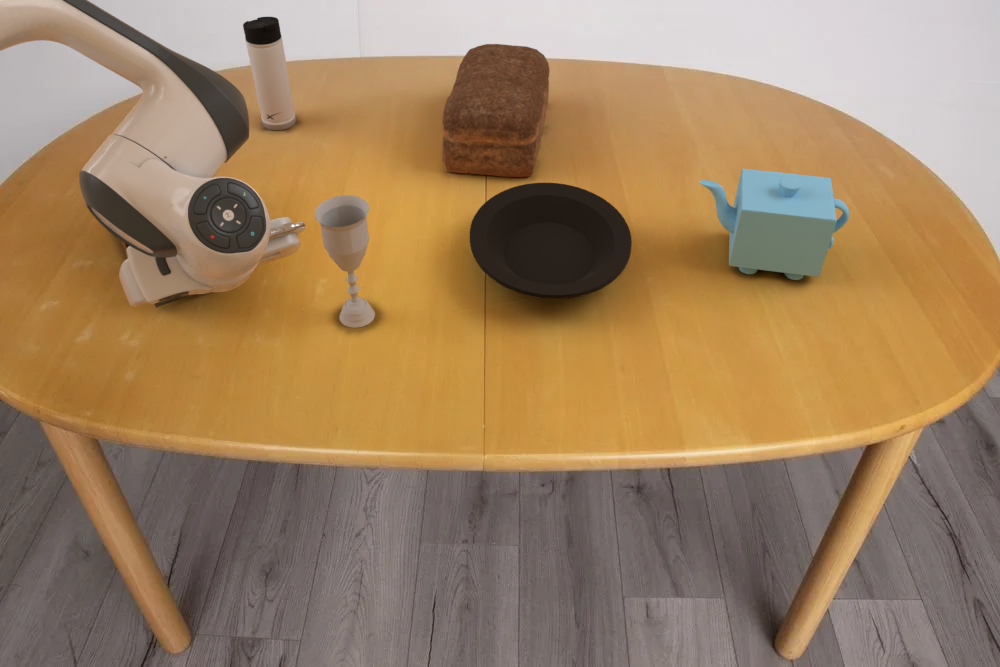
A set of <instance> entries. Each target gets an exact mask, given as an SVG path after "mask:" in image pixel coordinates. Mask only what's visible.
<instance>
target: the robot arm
mask: <svg viewBox="0 0 1000 667" xmlns="http://www.w3.org/2000/svg"><path fill="white" fill-rule="evenodd" d="M35 41H36V42H37V41H39V42H40V41H45V42H53V43H57V44H60V45H64V46H67V47H68V48H70V49H72V50H74V51H76V52H77V53H79V54H81V55H82V56H85V57H86V58H88V59H90V60H91V61H93V62H95V63H96V64H98V65H101V66H102V67H104V68H106V69H107V70H109V71H111V72H113V73H114V74H116V75H118V76H119V77H121V78H124V80H127V81H128V82H130V83H132V84H134V85H135V86H137V87H139V88H140V89H141V91H142V95H141V96H140V99H139V100H138V101H137V103H136V104H135V105H134V106H133V108H132V109H131V110H130V111H129V112H128V113H127V115H126V116H125V117H124V118H123V119H122V120H121V122H120V123H119V125H118V126H117V127H116V128H115V129H114V130H113V132H112V133H110V134H109V135H108V136H107V138H105V139H104V141H103V143H101V145H100V146H99V147H98V148H97V149H96V150H95V152H94V153H93V154H92V155H91V157H90V158H89V159H88V161H87V162H86V164H85V165H84V166H83V167H82V169H81V170H79V173H78V182H79V188H80V191H81V194H82V198H83V200H84V203H85V206H86V208H87V209H88V211H89V213H90V214H91V215H92V216H93V217H94V218H95V220H96V221H97V222H98V223H99V224H100V225H101V226H103V227H104V228H105V229H106V230H107V231H108V232H109V233H111V234H112V235H113V236H115V237H116V238H117V239H118V240H119V239H120V240H121V241H123V242H124V243H126V244H128V245H129V247H128V248H127V249H126V251H127V255H126V257H127V256H128V257H127V258H126V259H125V260H124V261H123V262H121V263H122V264H120V269H119V272H118V278H119V282H120V284H121V286H122V290H123V292H124V294H125V297H126V299H127V301H128V304H129V305H130V306H131V307H138V306H142V305H144V304H146V303H147V304H148V305H149V304H150V305H155V303H158V302H163V301H167V300H171V299H174V298H178V297H183V296H187V295H192V294H195V295H205V294H211V293H224V292H225V293H226V292H229V291H232V290H236V289H237V288H239V287H240V286H242V285H243V284H245V283H246V282H247V281H248V280H249V279H250V278H251V276H252V275H253V273H254V271H255V270H256V268H257V267H259V266H262V265H265V264H267V263H270V262H275V261H276V260H280V259H283V258H286V257H289V256H291V255H294V254H296V253H298V252H299V251H300V248H301V241H300V238H299V236H298V235H299V234H301V233H303V232H304V231H305V230H306V224H305V223H304V221H298V222H295V223H294V222H293V220H292V218H290V217H289V216H281V217H277V218H273V219H271V217H270V213H269V210H268V207H267V205H266V203H265V201H264V200H263V198H262V197H261V195H260V194H259V193H258V191H257V190H256V189H254V187H252V186H251V185H250V184H249V183H247V182H245V181H243V180H242V179H239V178H235V177H232V176H225V175H224V176H223V175H222V176H215V175H217V173H218V172H219V170H220V169H221V168H222V167H223V165H224V164H226V163H227V162H229V160H230V159H231V158H232V157H233V156H234V155H235V154H236V153H237V152H238V151H239V150H240V148H242V146H243V145H245V143H247V141H248V140H249V138H250V116H249V111H248V110H249V109H248V105H247V102H246V99H245V96H244V95H243V94H242V92H241V91H240V90H239V88H237V87H236V85H234V84H233V83H232V82H231V81H229V79H227V78H226V77H224V76H223V75H221V74H219V73H218V72H216V71H215V70H213V69H211V68H209V67H207V66H205V65H204V64H201V63H199V62H197V61H196V60H193V59H191V58H188V57H187V56H184V55H183V54H181V53H179V52H176V51H175V50H172V49H170V48H169V47H167V46H165V45H163V44H161V42H158V41H156V40H155V39H153V38H151V37H150V36H148V35H146V34H144V33H143V32H141V31H139V30H138V29H137V28H135V27H133V26H131V25H129V24H128V23H126V22H125V21H123V20H121V19H119V18H118V17H116V16H114V15H112V14H111V13H109V12H108V11H106V10H104V9H102V8H101V7H99V6H98V5H96V4H95V3H92V2H91V1H89V0H0V52H1V51H4V50H6V49H9V48H11V47H14V46H18V45H21V44H25V43H28V42H35ZM120 240H119V241H120ZM192 296H193V295H192Z"/></svg>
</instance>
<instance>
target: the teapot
mask: <svg viewBox="0 0 1000 667" xmlns="http://www.w3.org/2000/svg"><path fill="white" fill-rule="evenodd" d="M738 179H739V180H738V184H737V187H736V193H735V198H734V202H733V206H732V205H731V204H729V202H728V199H727V195H726V191H725V189H724V187H723V186H722V185H721V184H720V183H719V182H717V181H713V180H707V179H701V180H699V184H700V185H702V186H703V187H705V188H706V189H708V190H709V191H710V192H711V194H712V196H713V198H714V202H715V209H716V215H717V218H718V222H719V223H720V225H721V226H722V227H723V228H724V229H725V230H726V231H728V233H729V238H728V239H729V242H728V243H729V244H728V246H729V247H728V266H729V267H736V268H738V269H739V271H740V272H741V273H743V274H746V275H754V274H757V273H758V270H760V271H766V272H767V271H768V272H776V273H784V276H785V277H786V278H787V279H790V280H791V281H799V280H802V279H803V278H804V276H807V277H808V276H809V277H815V278H816V277H818V278H819V277H820V276H821V273H822V270H823V266H824V263H825V260H826V257H827V254H828V251H829V250H830V249H831V248H833V247H834V244H835V237H834V236H833V235H834V234H835V233H837V232H838V231H839V230H841V228H843V227H844V226H845V225H846V224H847V222H848V221H849V219H850V214H851V213H850V209H849V206H848V205H847V204H846V203H845V201H843V200H842V199H839V198H837V197H834V191H833V183H832V182H833V181H832V178H831V177H825V176H816V175H809V174H799V173H798V174H797V173H791V172H790V173H789V172H780V171H769V170H761V169H751V168H742V169H741V170H740V174H739V178H738ZM836 209H838V210H840V211H841V212H842V213H841V215H840V216H839V218H838V219H837V212H836Z"/></svg>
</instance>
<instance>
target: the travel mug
mask: <svg viewBox="0 0 1000 667" xmlns="http://www.w3.org/2000/svg"><path fill="white" fill-rule="evenodd" d="M242 27H243V28H242V29H243V33H244V38H245V43H246V49H247V54H248V59H249V64H250V69H251V74H252V78H253V84H254V90H255V94H256V99H257V104H258V109H259V112H260V113H259V114H260V117H261V118H260V119H261V123H262V126H263V127H264V128H265V129H267V130H270V131H285V130H287V129H290V128H291V127H293V126H294V125H295V124H296V122H297V118H296V111H295V105H294V99H293V93H292V87H291V83H290V76H289V71H288V65H287V60H286V52H285V49H284V42H283V36H282V32H281V27H280V21H279V18H277V17H275V16H260V17H256V19H252V20H247V21H245V22H244V23H242Z"/></svg>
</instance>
